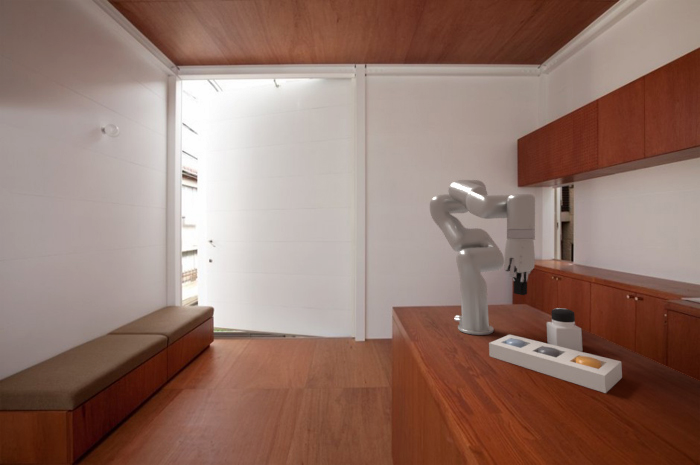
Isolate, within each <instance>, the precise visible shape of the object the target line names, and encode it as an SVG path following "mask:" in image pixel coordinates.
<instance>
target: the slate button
mask: <svg viewBox="0 0 700 465" xmlns="http://www.w3.org/2000/svg"><path fill="white" fill-rule="evenodd" d="M506 343H507V344H508V345H512V346H516V347H519V348H522V347H524V346H525V342H524V341H523V340H519V339H507V340H506Z"/></svg>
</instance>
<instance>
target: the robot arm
mask: <svg viewBox="0 0 700 465" xmlns="http://www.w3.org/2000/svg"><path fill="white" fill-rule="evenodd" d="M447 189H448V190H447V191H448V192H447V194H439V195H438V194H437V195H435V196H434V197H432V198H431V200H430V201H429V212H430V213H429V214H430V216H431V219H432V221H434V223H435V224H436V225H437V227H438V228H439V229H440V230H441V232H442V234H443V236H444V238H445V239H446V241H447V242H448V243H449V245H450V247H451V248H452V249H453V251H455V252H457V254H456V265H457V269H458V275H459V283H460V284H459V285H460V286H459V287H460V304H461V315H458V314H456V315H455V316H454V320H453V321H455V322H458V323H459V324H458V325H457V329H458V331H459V332H462V333H464V334H468V335H473V336H484V335H491V334H492V333H493V332H494V327H493V326H492V325H489V308H488V307H489V306H488V305H489V302H488V299H489V298H488V284H487V281H486V280H485V278H484V276H483V275H482V273H488V272H496V271H499V270H501V269H502V268H503V269H504V271H505V272H509V277H511V278H512V282H513V293H514V294H516V295H521V296H525V295H527V294H528V282H529V275H530V274H531V272H532V271H533V269H535V264H536V262H535V261H536V258H535V244H534V243H535V242H534V241H535V240H536V197H535V196H534V195H533V194H532V193H519V194H518V193H517V194H511V195H509V194H508V195H502V194H501V195H499V194H498V195H496V194H495V195H494V194H493V195H488V191H487V188H486V185H485V183H484V182H483V181H481V180H479V179H459V180H458V179H457V180H455V181H453V182H451V184H450V185H449V187H448V188H447ZM468 212H469V213H470V214H472V215H473V216H476V217H478V218H481V219H487V220H488V219H489V220H490V219H506V242H505V248H504V255H503V253H502V251H501V250H500V248H499V246H498V245H497V244H496V242H495V241H494V240H493V238H492V237H491V236H490V234H489V233H488V232H487V231H486V230H485V229H482V228H476V227H475V228H468V227H465V226H464V225H463V224H462V222H461V221H460V220H459V218H458V217H456V216H454V215H452V214H465V213H468Z"/></svg>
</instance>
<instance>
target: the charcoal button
mask: <svg viewBox="0 0 700 465" xmlns="http://www.w3.org/2000/svg"><path fill="white" fill-rule="evenodd" d="M538 353H541V354H545V355H549V356H552V357H558V356H560V351H559V350H557V349H555V348H551V347H539V348H538Z"/></svg>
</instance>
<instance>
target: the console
mask: <svg viewBox="0 0 700 465" xmlns="http://www.w3.org/2000/svg"><path fill="white" fill-rule="evenodd" d="M507 339H519V340H523V341H524V342H525V346H524V347H522V348H519V347H516V346H512V345H508V344H507V343H506V340H507ZM539 347H551V348H555V349H557V350H559V351H560V356H558V357H552V356H549V355H545V354H541V353H538V348H539ZM488 351H489V352H488V353H489V357H490V358H493V359H494V358H495V359H497V360H500V361H503V362H505V363H506V362H507V363H509V364H513V365H517V366H519V367H522V368H525V369H529V370H532V371H534V372H538V373H541V374H544V375H547V376H549V377H552V378H553V377H554V378H557V379H559V380H562V381H566V382H569V383H573V384H576V385H579V386H581V387H585V388H587V389H591V390H594V391H598V392H601V393H604V394H607V393H608V392H609V391H610V390H611V389H612V388H613V387H614V386H615V385H616V384H618V382H619V381H620V380H621V379H623V371H622V366H623V365H622V361H620V360H616V359H612V358H608V357H603V356H601V355H597V354H592V353H587V352H583V351H582V352H580V351H576V350H572V349H568V348H563V347H559V346H555V345H551V344H549V343H548V342H547V343H546V342H542V341H538V340H534V339H530V338H526V337H522V336H518V335H513V334H507V335H505V336H503V337H500V338H498V339H495V340H493V341H490V342H488ZM578 356H586V357H591V358H595V359H597V360H599V361H600V362H601V367H600V368H599V369H597V368H593V367H589V366H586V365H582V364H578V363H576V357H578Z"/></svg>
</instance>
